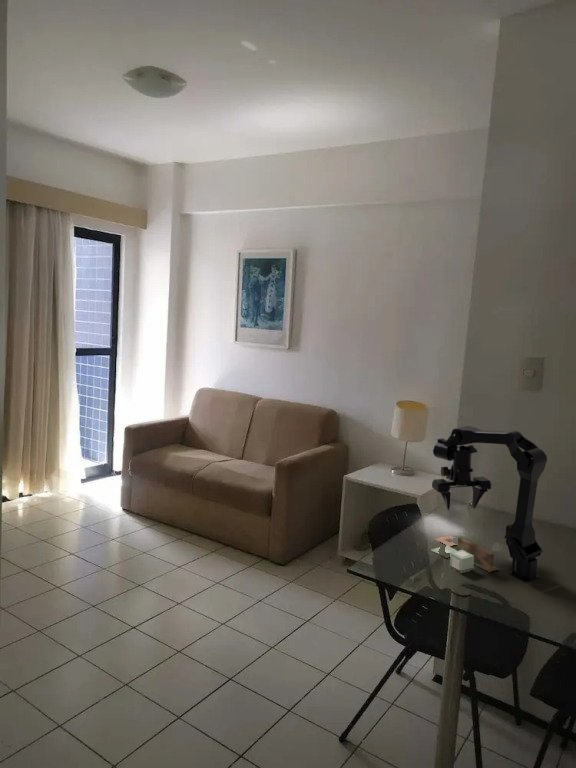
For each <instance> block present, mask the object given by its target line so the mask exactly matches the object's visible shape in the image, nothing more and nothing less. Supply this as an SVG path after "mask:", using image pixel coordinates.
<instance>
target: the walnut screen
mask: <svg viewBox="0 0 576 768" xmlns="http://www.w3.org/2000/svg"><path fill="white" fill-rule="evenodd" d="M457 539H458V543H457V546H456V550H457V551H459V550H464V551H466V552H468V553H470V554H472V555H473V556H474V562H475V563H477V564H479V565H481V566H482V567H484V568H485V569H487V570H488V571H495V570H498V571H499V567H496V566H494V561H495V553H494V552H493V551H492V552H491V551H490V550H488V549H486V548H484V547H482V546H481V545H478V544H476V543H474V542H472V541H470V540H468V539H466V538H464V537H462V536H459V537H457ZM495 572H496V571H495Z"/></svg>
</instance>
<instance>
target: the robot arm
mask: <svg viewBox="0 0 576 768" xmlns="http://www.w3.org/2000/svg"><path fill="white" fill-rule="evenodd" d="M477 443H478V444H493V445H505V446H506V447H507V449H508V451H509V454H510V456H511V457H512V458H513V460H514V461H515V462H516V471H517V473H518V475H519V486H518V492H517V498H516V499H517V501H516V508H515V509H516V510H515V515H514V521H513V523H511V524H507V525H506V527H505V535H504V538H503V539H505V543H506V544H505V545H506V546H507V547H508V548H507V549H508V552H509V557H510V558H511V559H512V560H511V561H512V562H511V571H509V572H508V574H509V575H511V576H512V577H515V578H516V579H519V580H520V581H522V582H524V583H528V582H531V581H534V580H535V581H536V580H537V579H540V578H541V576H540V575H539V574H537V573H538V572H537V571H538V560H539V559H537V558H538V557H541V555H542V554H543V549H542V547H541V546H540V545H539V543H538V542H537V540H536V531H535V529H534V526H533V517H534V509H535V502H536V495H537V487H538V481H539V479H540V477H541V475H542V473H544V470H545V467H546V465H547V461H548V456H547V454H545V452H544V451H543V450H542V449H541V448H539V447H538V446H537V444H536V443H534V442H532V441H531V440H529V439H528V438H526V437H525V436H524V435H523V434H522V433H521V432H519V431H518V430H512V431H510V430H509V431H507V430H485V429H483V430H482V429H479V428H477V427H474V426H469V425H466V426H465V425H464V426H460V427H455V428H453V429H452V431H451V432H450V435H449V437H448V438H447V439H445V438H438V439H437V442H436V443H435V444H434V446H433V449H432V454H433V456H434V457H435V458H436V459H437V458H438V459H441V460H445V461H448V462H453V463H452V464H451V467H450V468H449V467H448V466H441V467H440V474H441V475H440V476H441V477H446V479H444V478H441V479H440V478H439V479H436V478H435V479H433V480H432V482H431V488H433V490H435V491H436V493H437V492H438V493H439V494H441V496H442V499H443V503H444V506H445V508H446V510H447V511H450V507H451V492H450V490H451V489H452V488H467V487H471V488H472V500H471V501H472V503H471V505H472V506H471V507H472V508H473V509H476V507H477V505H478V504H479V502H480V500H481V499H482V497H483V496H484V494H485V493H487V492H488V490H491V489H492V482H491V480H490V479H488V478H486V477H485V476H474V477H473V478H472V472H474V468H472V455H473V454H476V453H478V450H477V448H476V447H474V445H473V444H477ZM470 444H471V445H470ZM467 445H468V446H467ZM447 480H450V481H447Z"/></svg>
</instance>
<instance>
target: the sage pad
mask: <svg viewBox="0 0 576 768" xmlns="http://www.w3.org/2000/svg"><path fill="white" fill-rule="evenodd" d="M440 547H441V546H439V547H436V548H431V552H433V553H434V552H435V553H434V554H436V553H438V554H439V552H438V551H439V549H440ZM455 551H457V549H455V548H453V547H449V546H447V545H446V547H445V552H446V553H452V552H455ZM438 554H437V555H438Z"/></svg>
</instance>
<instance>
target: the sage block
mask: <svg viewBox="0 0 576 768" xmlns="http://www.w3.org/2000/svg"><path fill="white" fill-rule="evenodd" d="M449 559H450V560H449V567H450V566H452V567H454V568H456V569H458V570H461V571H462V570H465V569H469V568H473V569H474V567H475V565H474V556H473V555H472V554H470V553H468V552H466V551H464V550H459V551H455V552H452V553H450V558H449Z"/></svg>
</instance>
